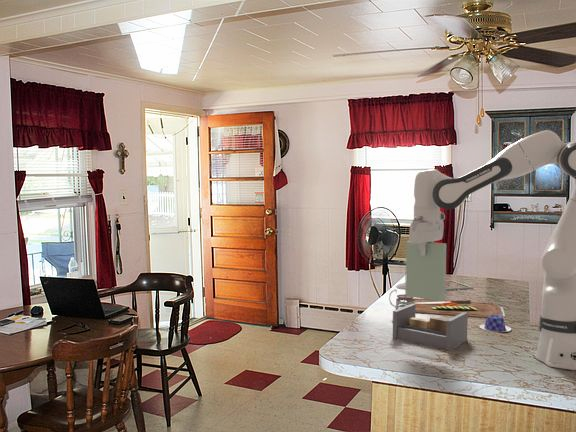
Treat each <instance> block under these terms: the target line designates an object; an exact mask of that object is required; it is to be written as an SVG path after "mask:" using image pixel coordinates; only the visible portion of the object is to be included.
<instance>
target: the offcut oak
mask: <svg viewBox="0 0 576 432" xmlns="http://www.w3.org/2000/svg"><path fill="white" fill-rule="evenodd" d="M410 326H414V327H419V328H425V329H430V319H424V318H418V317H415V318H413V317H412V318H410Z"/></svg>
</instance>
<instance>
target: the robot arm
mask: <svg viewBox="0 0 576 432" xmlns="http://www.w3.org/2000/svg"><path fill="white" fill-rule="evenodd" d="M552 164H553V165H555V166H557V168H558V169H560V171H562V172H563V173H564V174H565V175H567V176H570V177H572V178H573V179H574V186H573V189H572V192H571V193H570V195H569V198H568V201H567V203H566V205H565V207H564V210H562V213H561V216H560V218H559V220H558V222H557V225H556V226H555V227H554V230H553V232H552V234H551V236H550V238H549V240H548V242H547V244H546V246H545V248H544V251H543V252H542V254H541V258H540V264H541V267H542V269H543V271H544V275H543V277H544V278H543V286H542V291H541V292H542V294H541V315H540V316H539V322H538V323H539V340H538V345H537V348H536V352H535V354H534V357H535V359H537V360H538V361H540V362H543V364H545V365H546V366H548V367H551V368H557V369H565V370H571V371H576V141H562V140H561V138H560V136H559V135H558V134H557V133H556V132H555V131H553V130H550V129H549V130H548V129H545V130H541V131H538V132H535V133H533V134H530V135H528V136H527V135H526V137H523V138H521V139H519V140H516V141H515V142H513V143H512V144H510V145H508V146H506V147H505V148H504V149H503V150H501V151H500V152H499V153H497V154H496V155H495V156H494V157H493V158H492V159H491V160H489V161H487V163H485V164H484V165H482V166H480V167H478V168H476V169H474V170H472V171H470V172H468V173H467V174H464V175H462V176H460V177H455V178H454V177H451V176H448V175H446V174H443V173H442V172H441V171H439V170H438V169H427V170H423V171H419V172H418V173H417V174H416V175H415V178H414V186H413V187H414V189H413V196H414V206H413V219H412V222H411V223H410V225H409V231H408V232H409V233H408V241H409V242H410V244H417V245H418V244H419V248H420V254H421V255H422V256H425V255H427V250H426V248H425V246H426V243H428V242H433V243H435V242H436V241H440V240H442V239H443V238H444V229H445V226H444V225H445V224H444V223H445V222H444V220H445V219H446V215H445V213H444V212H442V211H441V209H443V210H446V211H447V210H448V211H449V210H454V209H455V208H458V207H459V206H461V205H463V204H464V203H465V202H466V200H467V199H468V196H470V195H472V194H473V193H475V192H477V191H479V190H481V189H482V188H486V186H489V185H491V184H493V183H496V182H500V181H504V180H512V179H516V178H519V177H522V176H526V175H528V174H530V173H532V172H534V171H536V170H538V169H541V168H542V167H544V166H547V165H552Z"/></svg>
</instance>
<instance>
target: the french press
mask: <svg viewBox="0 0 576 432" xmlns="http://www.w3.org/2000/svg"><path fill="white" fill-rule="evenodd" d="M403 264H405V266H404V268H405V271H404V272H405V275H404V276H405V277H404V278H405V280H404V281H405V282H403V283H402V282H401V283H399V284H396V286H395V289H393V290H392V291H390V294H389V297H388V300H389V303H390V305H391V306H392V307H393V308H394V309H395V310H397V309H400V308H401V307H405V306H408V305H410V304H415V300H414V299H412V298H415V297H409V296H406V260H404V261H403ZM397 289H398V290H404V293H403V294H397V291H398V290H397ZM393 292H395V293H396V294H397V295H396V297H397V298H396V299H395V304H393V303H392V300H391V295H392V293H393ZM403 301H407V302H403ZM402 304H404V305H402Z"/></svg>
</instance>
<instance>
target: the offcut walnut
mask: <svg viewBox="0 0 576 432" xmlns="http://www.w3.org/2000/svg"><path fill="white" fill-rule="evenodd" d="M448 319H449V318H447V319H446V318H442V317H441V318H440V317H435V316H431V317H430V318H429V320H430V330H435V331H441V332H446V320H448Z"/></svg>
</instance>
